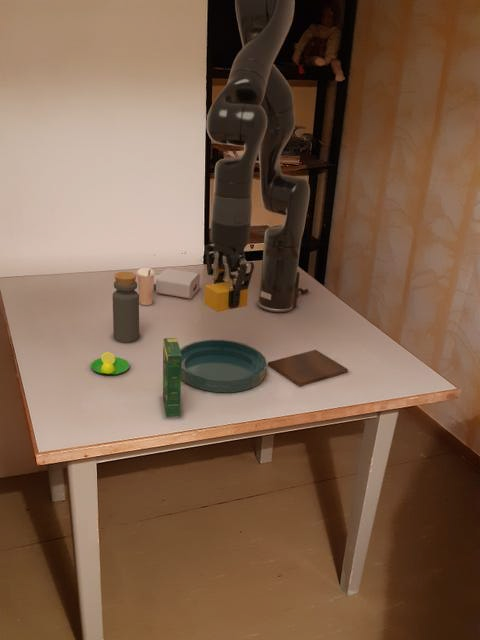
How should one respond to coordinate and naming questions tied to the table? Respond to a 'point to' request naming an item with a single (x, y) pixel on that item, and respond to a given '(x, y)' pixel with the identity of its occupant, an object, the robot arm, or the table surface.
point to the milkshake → (145, 285)
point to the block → (222, 296)
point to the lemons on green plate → (109, 364)
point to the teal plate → (222, 365)
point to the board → (307, 367)
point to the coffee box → (171, 377)
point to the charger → (177, 283)
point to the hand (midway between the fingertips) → (225, 302)
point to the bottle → (125, 308)
